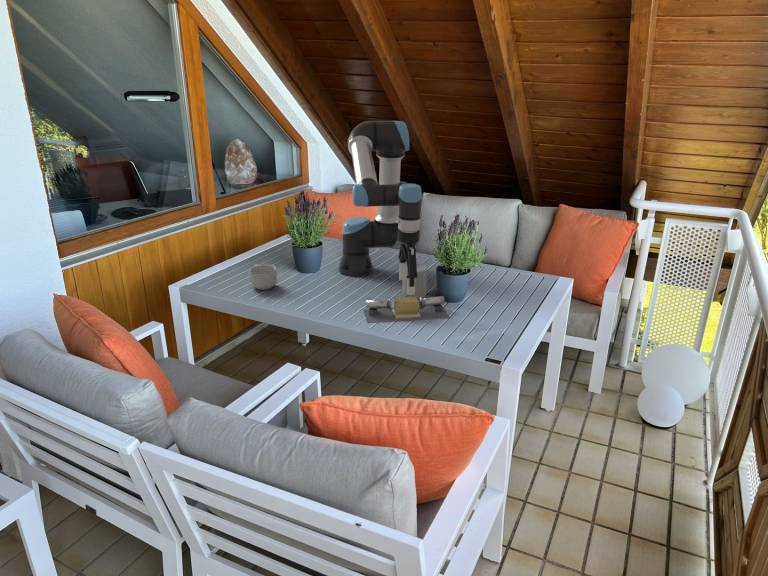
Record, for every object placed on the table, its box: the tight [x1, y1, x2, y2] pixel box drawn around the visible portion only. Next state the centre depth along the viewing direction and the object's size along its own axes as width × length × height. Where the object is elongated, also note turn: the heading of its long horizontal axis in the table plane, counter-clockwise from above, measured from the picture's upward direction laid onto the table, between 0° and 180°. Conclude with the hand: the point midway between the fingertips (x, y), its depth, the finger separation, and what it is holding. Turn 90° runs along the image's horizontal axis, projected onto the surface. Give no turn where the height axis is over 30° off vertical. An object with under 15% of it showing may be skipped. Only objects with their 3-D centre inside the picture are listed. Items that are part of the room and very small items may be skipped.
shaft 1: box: [365, 298, 392, 316], centre depth 209 cm, size 9×4×6 cm, turn 90°
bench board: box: [363, 305, 451, 324], centre depth 210 cm, size 12×30×1 cm, turn 100°
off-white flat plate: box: [392, 309, 420, 318], centre depth 210 cm, size 7×9×1 cm
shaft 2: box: [417, 295, 445, 312], centre depth 212 cm, size 9×4×6 cm, turn 110°
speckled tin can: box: [401, 263, 428, 300], centre depth 226 cm, size 10×10×12 cm
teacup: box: [248, 264, 278, 291], centre depth 235 cm, size 14×11×8 cm
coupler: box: [393, 296, 419, 316], centre depth 209 cm, size 8×5×5 cm, turn 97°
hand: (406, 286), depth 206 cm, fingers open, 13 cm apart
